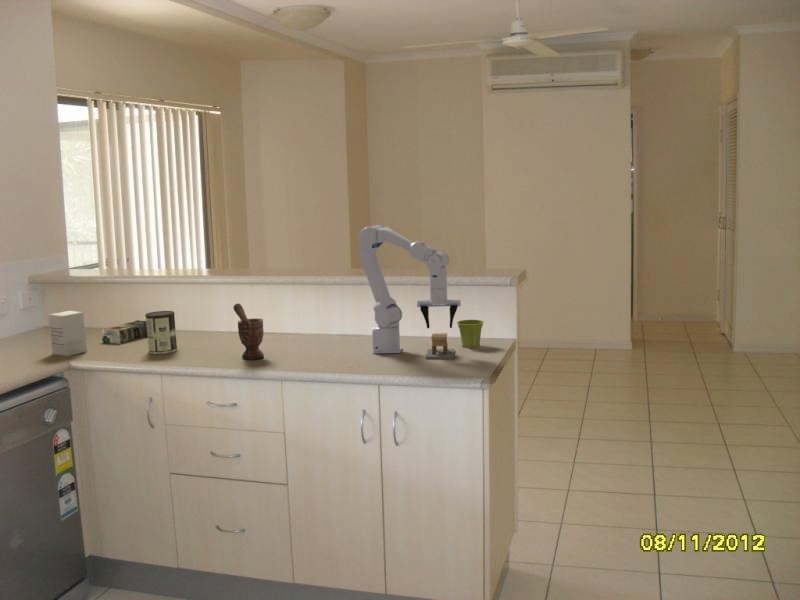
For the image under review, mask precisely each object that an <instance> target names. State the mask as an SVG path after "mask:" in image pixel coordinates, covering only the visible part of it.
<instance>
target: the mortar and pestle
mask: <svg viewBox="0 0 800 600" xmlns="http://www.w3.org/2000/svg"><path fill="white" fill-rule="evenodd" d="M233 310H234V313H235V314H236V315H237V316H238V317H239V319H240V320H238V321H237V330H238V337H239V339H240V342H241V343H240V344H242V345H243V346H244V347H245V350H244V351H243V353H242V354H241V359H244V360H249V361H252V360H253V361H254V360H259V359H263V358H264V356H265V355H264V352H263V351H262V350H260V345H261V344H262V343H263V338H264V319H263V318H257V317H256V318H248V317H247V315H246V312H245V310H244V307H243V306H242V304H240V303H239V302H238V303H235V304H234V305H233Z"/></svg>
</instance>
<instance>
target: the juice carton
mask: <svg viewBox="0 0 800 600" xmlns="http://www.w3.org/2000/svg"><path fill="white" fill-rule="evenodd" d="M101 333H102V339H101V340H102V343H109V344H118V345H121V344H124V343H128V342H131V341H132V342H133V341H135V340H140V339H144V338H148V336H147V325H146V320H139V319H138V320H135V321H131V322H126V323H123V324H119V325H114V326H110V327H106V328H102V331H101Z"/></svg>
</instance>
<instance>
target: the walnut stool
mask: <svg viewBox="0 0 800 600" xmlns="http://www.w3.org/2000/svg"><path fill="white" fill-rule="evenodd" d="M447 338H448V333H447V332H441V333H440V332H439V333H437V332H436V333H435V332H434V333H433V332H432V333H431V338H430V339H431V342H432V343H431V349H432V355H435V354H436V349H437V347H442V349H443V354H447V351H448V349H449V348H448V339H447Z"/></svg>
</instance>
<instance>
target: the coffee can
mask: <svg viewBox="0 0 800 600" xmlns="http://www.w3.org/2000/svg"><path fill="white" fill-rule="evenodd" d="M175 314H176V313H175V311H173V310H159V311H150V312H147V313H145V315H144V316H145V321H146V325H147V336H148V337H147V344H148V345H147V346H148V353H149V354H152V355H153V354H154V355H165V354H171V353H174V352H176V351H178V345H177V333H176V319H175Z"/></svg>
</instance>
